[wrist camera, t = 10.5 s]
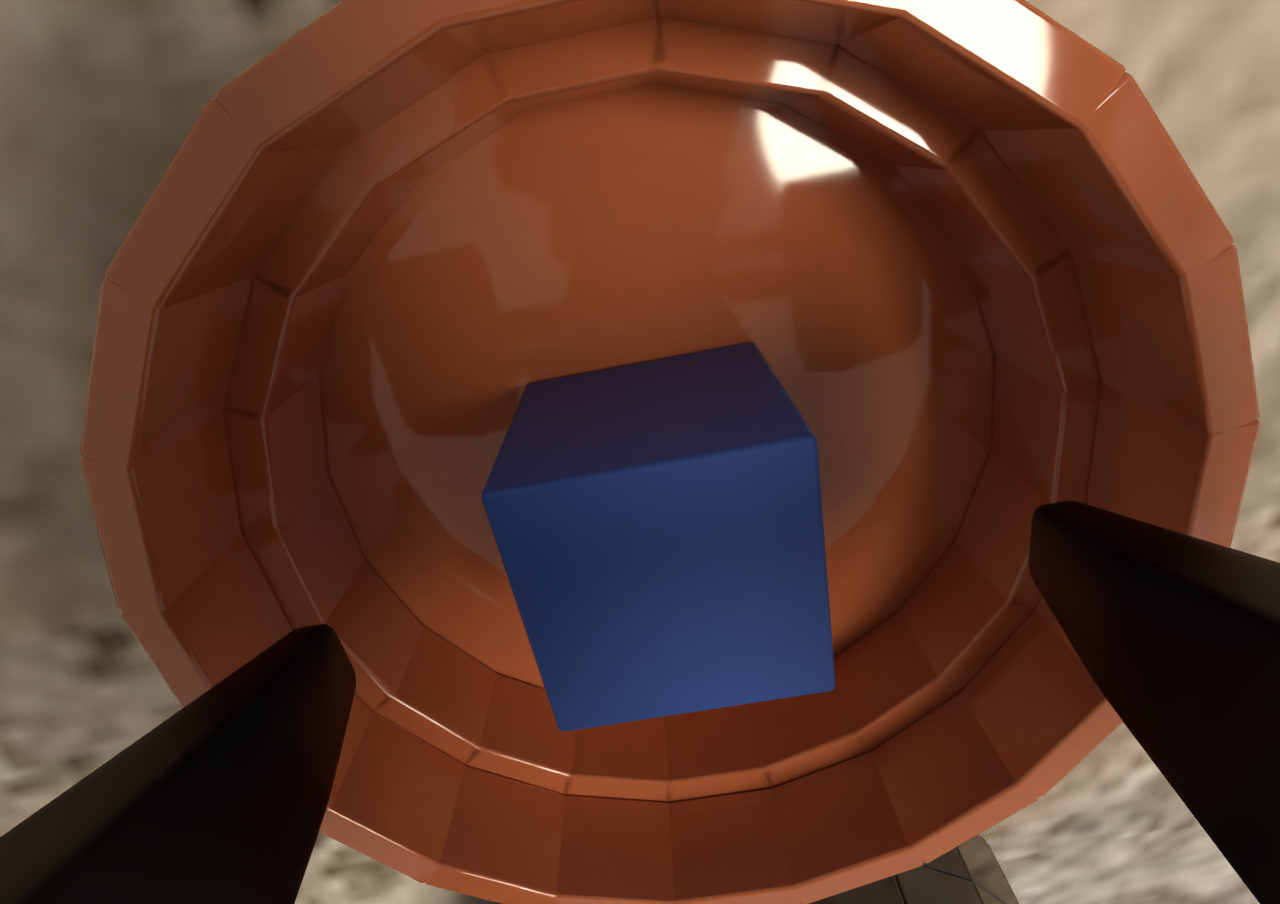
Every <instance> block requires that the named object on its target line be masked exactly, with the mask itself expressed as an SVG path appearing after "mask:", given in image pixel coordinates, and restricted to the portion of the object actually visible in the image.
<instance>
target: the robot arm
mask: <svg viewBox="0 0 1280 904" xmlns="http://www.w3.org/2000/svg"><path fill="white" fill-rule="evenodd" d="M1028 564H1029V570H1030V574H1031V576H1032V579H1033V581H1034V583H1035V584H1036V586H1037V588H1038V589H1039V591H1040V593H1041V594H1042V596H1043V598H1044V599H1045V601H1046V603H1047V604H1048V606H1049V608H1050V609H1051V611H1052V613H1053V614H1054V616H1055V618H1056V619H1057V621H1058V623H1059V624H1060V626H1061V628H1062V629H1063V631H1064V633H1065V634H1066V636H1067V638H1068V639H1069V641H1070V643H1071V644H1072V646H1073V648H1074V649H1075V651H1076V653H1077V654H1078V656H1079V658H1080V659H1081V661H1082V663H1083V664H1084V666H1085V668H1086V669H1087V671H1088V673H1089V674H1090V676H1091V677H1092V679H1093V680H1094V682H1095V683H1096V685H1097V687H1098V688H1099V689H1100V691H1101V692H1102V694H1103V695H1104V696H1105V698H1106V699H1107V701H1108V702H1109V703H1110V705H1111V706H1112V708H1113V709H1114V710H1115V712H1116V713H1117V714H1118V716H1119V717H1120V718H1121V720H1122V721H1123V722H1124V723H1125V725H1126V726H1127V727H1128V729H1129V730H1130V731H1131V733H1132V734H1133V735H1134V737H1135V738H1136V739H1137V741H1138V742H1139V743H1140V745H1141V746H1142V747H1143V749H1144V750H1145V751H1146V753H1147V754H1148V755H1149V757H1150V758H1151V759H1152V761H1153V762H1154V763H1155V765H1156V766H1157V767H1158V769H1159V770H1160V771H1161V773H1162V774H1163V775H1164V777H1165V778H1166V779H1167V781H1168V782H1169V783H1170V785H1171V786H1172V787H1173V789H1174V790H1175V791H1176V793H1177V794H1178V795H1179V797H1180V798H1181V799H1182V801H1183V802H1184V803H1185V805H1186V806H1187V807H1188V809H1189V810H1190V811H1191V813H1192V814H1193V815H1194V817H1195V818H1196V819H1197V821H1198V822H1199V823H1200V825H1201V826H1202V827H1203V829H1204V830H1205V831H1206V833H1207V834H1208V835H1209V837H1210V838H1211V839H1212V841H1213V842H1214V843H1215V845H1216V846H1217V847H1218V849H1219V850H1220V851H1221V853H1222V854H1223V855H1224V857H1225V858H1226V859H1227V860H1228V862H1229V863H1230V864H1231V866H1232V867H1233V868H1234V870H1235V871H1236V872H1237V874H1238V875H1239V876H1240V878H1241V879H1242V880H1243V882H1244V883H1245V884H1246V886H1247V887H1248V888H1249V890H1250V891H1251V892H1252V894H1253V895H1254V896H1255V898H1256V899H1257V900H1258V902H1259V903H1260V904H1280V563H1278V562H1274V561H1271V560H1268V559H1265V558H1261V557H1258V556H1255V555H1251V554H1248V553H1245V552H1242V551H1238V550H1235V549H1232V548H1228V547H1225V546H1222V545H1219V544H1215V543H1212V542H1209V541H1205V540H1202V539H1199V538H1196V537H1192V536H1189V535H1186V534H1182V533H1179V532H1176V531H1173V530H1169V529H1166V528H1163V527H1159V526H1156V525H1153V524H1150V523H1146V522H1143V521H1140V520H1136V519H1133V518H1130V517H1126V516H1123V515H1120V514H1117V513H1113V512H1110V511H1107V510H1103V509H1100V508H1097V507H1094V506H1090V505H1087V504H1084V503H1080V502H1077V501H1063V502H1057V503H1051V504H1045V505H1040V506H1039V507H1037V508H1036V509H1035V511H1034V513H1033V516H1032V523H1031V534H1030V546H1029V558H1028ZM355 689H356V675H355V671H354V668H353V666H352V664H351V662H350V660H349V658H348V655H347V653H346V651H345V649H344V647H343V645H342V643H341V641H340V639H339V637H338V635H337V633H336V632H335V630H334V629H333V628H332V627H331V626H330V625H327V624H319V625H313V626H307V627H301V628H297V629H295V630H293V631H291V632H290V633H288V634H287V635H286V636H284V637H283V638H281V639H280V640H279V641H277V642H276V643H274V644H273V645H272V646H270V647H269V648H267V649H266V650H264V651H263V652H262V653H260V654H259V655H257V656H256V657H255V658H253V659H252V660H250V661H249V662H248V663H246V664H245V665H243V666H242V667H240V668H239V669H238V670H236V671H235V672H233V673H232V674H231V675H229V676H228V677H226V678H225V679H223V680H222V681H221V682H219V683H218V684H216V685H215V686H214V687H212V688H211V689H209V690H208V691H207V692H205V693H204V694H202V695H201V696H199V697H198V698H197V699H195V700H194V701H192V702H191V703H190V704H188V705H187V706H185V707H184V708H183V709H181V710H180V711H178V712H177V713H175V714H174V715H173V716H171V717H170V718H168V719H167V720H166V721H164V722H163V723H161V724H160V725H159V726H157V727H156V728H154V729H153V730H151V731H150V732H149V733H147V734H146V735H144V736H143V737H142V738H140V739H139V740H137V741H136V742H134V743H133V744H132V745H130V746H129V747H127V748H126V749H125V750H123V751H122V752H120V753H119V754H118V755H116V756H115V757H113V758H112V759H110V760H109V761H108V762H106V763H105V764H103V765H102V766H101V767H99V768H98V769H96V770H95V771H94V772H92V773H91V774H89V775H88V776H86V777H85V778H84V779H82V780H81V781H79V782H78V783H77V784H75V785H74V786H72V787H71V788H69V789H68V790H67V791H65V792H64V793H62V794H61V795H60V796H58V797H57V798H55V799H54V800H53V801H51V802H50V803H48V804H47V805H45V806H44V807H43V808H41V809H40V810H38V811H37V812H36V813H34V814H33V815H31V816H30V817H29V818H27V819H26V820H24V821H23V822H21V823H20V824H19V825H17V826H16V827H14V828H13V829H12V830H10V831H9V832H7V833H6V834H4V835H3V836H2V837H0V904H294V903H295V900H296V897H297V894H298V891H299V888H300V885H301V883H302V880H303V877H304V874H305V871H306V868H307V865H308V862H309V859H310V856H311V853H312V850H313V847H314V845H315V842H316V839H317V836H318V833H319V830H320V827H321V824H322V821H323V818H324V815H325V812H326V808H327V805H328V802H329V798H330V795H331V791H332V787H333V783H334V779H335V775H336V771H337V767H338V762H339V758H340V754H341V750H342V745H343V741H344V737H345V733H346V728H347V724H348V720H349V715H350V711H351V707H352V703H353V698H354V694H355Z"/></svg>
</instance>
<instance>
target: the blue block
mask: <svg viewBox="0 0 1280 904" xmlns="http://www.w3.org/2000/svg"><path fill="white" fill-rule="evenodd" d="M481 499H482V502H483V505H484V508H485V511H486V514H487V517H488V520H489V523H490V526H491V529H492V532H493V535H494V538H495V541H496V544H497V547H498V550H499V553H500V556H501V559H502V562H503V565H504V568H505V571H506V574H507V577H508V580H509V583H510V586H511V589H512V592H513V595H514V598H515V601H516V604H517V607H518V610H519V613H520V616H521V619H522V622H523V625H524V628H525V631H526V634H527V637H528V640H529V643H530V646H531V649H532V652H533V655H534V658H535V661H536V664H537V667H538V670H539V673H540V676H541V679H542V681H543V684H544V687H545V690H546V693H547V696H548V699H549V702H550V705H551V708H552V711H553V714H554V717H555V720H556V723H557V726H558V729H559V730H560V731H563V732H565V731H572V730H579V729H585V728H592V727H598V726H605V725H611V724H618V723H625V722H631V721H638V720H644V719H651V718H658V717H664V716H671V715H677V714H684V713H691V712H697V711H704V710H710V709H717V708H724V707H730V706H737V705H743V704H750V703H756V702H763V701H770V700H776V699H783V698H789V697H796V696H803V695H809V694H816V693H822V692H829V691H832V690H834V688H835V684H836V682H835V669H834V656H833V643H832V630H831V617H830V604H829V591H828V578H827V565H826V552H825V539H824V526H823V513H822V500H821V486H820V473H819V460H818V447H817V439H816V437H815V436H814V434H813V432H812V431H811V429H810V428H809V426H808V425H807V423H806V422H805V420H804V418H803V417H802V415H801V414H800V412H799V411H798V409H797V408H796V406H795V404H794V403H793V401H792V400H791V398H790V397H789V395H788V394H787V392H786V391H785V389H784V387H783V386H782V384H781V383H780V381H779V380H778V378H777V377H776V375H775V373H774V372H773V370H772V369H771V367H770V366H769V364H768V363H767V361H766V359H765V358H764V356H763V355H762V353H761V352H760V350H759V349H758V347H757V346H756V344H755V343H752V342H749V343H744V344H738V345H733V346H728V347H722V348H717V349H712V350H706V351H701V352H695V353H690V354H685V355H679V356H674V357H668V358H663V359H658V360H652V361H647V362H641V363H636V364H631V365H625V366H620V367H615V368H609V369H604V370H598V371H593V372H588V373H582V374H577V375H571V376H566V377H561V378H555V379H550V380H544V381H539V382H534V383H529V384H528V385H526V387H525V390H524V392H523V394H522V397H521V399H520V402H519V404H518V407H517V409H516V412H515V414H514V416H513V419H512V421H511V424H510V426H509V429H508V431H507V434H506V436H505V438H504V441H503V443H502V446H501V448H500V451H499V453H498V456H497V458H496V460H495V463H494V465H493V468H492V470H491V473H490V475H489V478H488V480H487V482H486V485H485V487H484V490H483V492H482V498H481Z"/></svg>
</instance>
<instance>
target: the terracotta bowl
mask: <svg viewBox="0 0 1280 904" xmlns="http://www.w3.org/2000/svg"><path fill="white" fill-rule="evenodd" d="M1125 70H1126V69H1125V68H1124V66H1123V65H1121V64H1120V63H1118V62H1117V61H1115V60H1114V59H1112V58H1111V57H1109V56H1108V55H1106V54H1105V53H1103V52H1102V51H1100V50H1099V49H1097V48H1096V47H1094V46H1093V45H1091V44H1090V43H1088V42H1087V41H1085V40H1084V39H1082V38H1081V37H1079V36H1078V35H1076V34H1075V33H1073V32H1072V31H1070V30H1069V29H1067V28H1066V27H1064V26H1063V25H1061V24H1060V23H1058V22H1057V21H1055V20H1054V19H1052V18H1051V17H1049V16H1048V15H1046V14H1045V13H1043V12H1042V11H1040V10H1039V9H1037V8H1036V7H1034V6H1033V5H1031V4H1030V3H1028V2H1027V1H1025V0H343V1H341V2H340V3H339V4H337V5H336V6H334V7H333V8H332V9H330V10H329V11H327V12H326V13H325V14H323V15H322V16H320V17H319V18H318V19H316V20H315V21H313V22H312V23H311V24H309V25H308V26H306V27H305V28H304V29H302V30H301V31H299V32H298V33H297V34H295V35H294V36H292V37H291V38H290V39H288V40H287V41H285V42H284V43H283V44H281V45H280V46H278V47H277V48H276V49H274V50H273V51H271V52H270V53H269V54H267V55H266V56H264V57H263V58H262V59H260V60H259V61H257V62H256V63H255V64H253V65H252V66H250V67H249V68H248V69H246V70H245V71H244V72H242V73H241V74H239V75H238V76H237V77H235V78H234V79H232V80H231V81H230V82H228V83H227V84H225V85H224V86H223V87H221V88H220V89H219V90H218V91H217V93H216V94H215V95H216V97H213V98H211V99H210V100H208V102H207V104H206V105H205V107H204V109H203V110H202V112H201V114H200V115H199V117H198V119H197V120H196V122H195V124H194V125H193V127H192V129H191V130H190V132H189V134H188V135H187V137H186V139H185V140H184V142H183V144H182V145H181V147H180V149H179V150H178V152H177V154H176V155H175V157H174V159H173V160H172V162H171V164H170V165H169V167H168V169H167V170H166V172H165V174H164V175H163V177H162V179H161V180H160V182H159V184H158V185H157V187H156V189H155V190H154V192H153V194H152V195H151V197H150V199H149V200H148V202H147V204H146V205H145V207H144V209H143V210H142V212H141V214H140V215H139V217H138V219H137V220H136V222H135V224H134V225H133V227H132V229H131V230H130V232H129V234H128V235H127V237H126V239H125V240H124V242H123V244H122V245H121V247H120V249H119V250H118V252H117V254H116V255H115V257H114V259H113V260H112V262H111V264H110V265H109V267H108V269H107V270H106V273H105V276H106V277H107V278H105V279H104V281H103V282H102V286H101V293H100V301H99V309H98V316H97V324H96V332H95V339H94V347H93V354H92V362H91V370H90V377H89V385H88V393H87V400H86V408H85V416H84V423H83V431H82V439H81V446H80V454H81V456H83V457H82V459H81V466H82V470H83V474H84V478H85V482H86V486H87V490H88V494H89V497H90V501H91V505H92V509H93V513H94V517H95V521H96V525H97V528H98V532H99V536H100V540H101V544H102V548H103V552H104V556H105V559H106V563H107V567H108V571H109V575H110V579H111V583H112V587H113V590H114V594H115V598H116V602H117V606H118V609H119V610H120V611H122V618H123V619H124V621H125V622H126V624H127V625H128V627H129V628H130V630H131V631H132V633H133V634H134V636H135V637H136V639H137V640H138V642H139V643H140V645H141V646H142V648H143V649H144V651H145V652H146V654H147V655H148V657H149V658H150V660H151V661H152V663H153V664H154V666H155V667H156V669H157V670H158V672H159V673H160V675H161V676H162V678H163V679H164V681H165V682H166V684H167V685H168V687H169V688H170V690H171V691H172V693H173V694H174V696H175V697H176V699H177V700H178V702H179V704H180V705H181V707H182V708H184V707H185V706H187V705H188V704H190V703H191V702H192V701H194V700H195V699H197V698H198V697H199V696H201V695H202V694H204V693H205V692H207V691H208V690H209V689H211V688H212V687H214V686H215V685H216V684H218V683H219V682H221V681H222V680H223V679H225V678H226V677H228V676H229V675H231V674H232V673H233V672H235V671H236V670H238V669H239V668H240V667H242V666H243V665H245V664H246V663H248V662H249V661H250V660H252V659H253V658H255V657H256V656H257V655H259V654H260V653H262V652H263V651H264V650H266V649H267V648H269V647H270V646H272V645H273V644H274V643H276V642H277V641H279V640H280V639H281V638H283V637H284V636H286V635H287V634H288V633H290V632H291V631H293V630H295V629H297V628H301V627H307V626H313V625H319V624H327V625H330V626H331V627H332V628H333V629H334V630H335V632H336V633H337V635H338V637H339V639H340V641H341V643H342V645H343V647H344V649H345V651H346V653H347V655H348V658H349V660H350V662H351V664H352V666H353V668H354V671H355V675H356V689H355V694H354V698H353V703H352V707H351V711H350V715H349V720H348V724H347V728H346V733H345V737H344V741H343V745H342V750H341V754H340V758H339V762H338V767H337V771H336V775H335V779H334V783H333V787H332V791H331V795H330V798H329V802H328V805H327V808H326V812H325V815H324V818H323V821H322V824H321V827H320V830H319V832H321V833H323V834H325V835H327V836H329V837H331V838H333V839H335V840H337V841H339V842H341V843H343V844H345V845H347V846H349V847H351V848H353V849H355V850H357V851H359V852H361V853H363V854H365V855H367V856H369V857H371V858H373V859H375V860H377V861H379V862H381V863H383V864H385V865H387V866H389V867H391V868H393V869H395V870H397V871H399V872H401V873H403V874H405V875H407V876H409V877H411V878H413V879H415V880H417V881H419V882H421V883H424V882H425V883H426V884H427V885H431V886H435V887H439V888H443V889H446V890H450V891H454V892H458V893H462V894H466V895H470V896H474V897H477V898H481V899H485V900H489V901H493V902H497V903H501V904H810V903H813V902H816V901H819V900H822V899H825V898H828V897H831V896H834V895H837V894H840V893H843V892H846V891H849V890H852V889H855V888H858V887H861V886H864V885H867V884H870V883H873V882H876V881H879V880H882V879H885V878H888V877H891V876H894V875H897V874H900V873H903V872H906V871H909V870H912V869H915V868H918V867H921V866H922V865H923V863H930V862H932V861H933V860H935V859H937V858H939V857H940V856H942V855H944V854H945V853H947V852H949V851H951V850H952V849H954V848H956V847H958V846H959V845H961V844H963V843H965V842H966V841H968V840H970V839H971V838H973V837H975V836H977V835H978V834H980V833H982V832H984V831H985V830H987V829H989V828H990V827H992V826H994V825H996V824H997V823H999V822H1001V821H1003V820H1004V819H1006V818H1008V817H1010V816H1011V815H1013V814H1015V813H1016V812H1018V811H1020V810H1022V809H1023V808H1025V807H1027V806H1029V805H1030V804H1032V803H1034V802H1035V801H1037V800H1038V799H1039V796H1040V797H1041V796H1044V795H1046V794H1047V793H1048V792H1049V791H1050V790H1051V789H1052V788H1053V787H1054V786H1055V785H1056V784H1057V783H1058V782H1059V781H1061V780H1062V779H1063V778H1064V777H1065V776H1066V775H1067V774H1068V773H1069V772H1070V771H1071V770H1072V769H1073V768H1074V767H1076V766H1077V765H1078V764H1079V763H1080V762H1081V761H1082V760H1083V759H1084V758H1085V757H1086V756H1087V755H1088V754H1090V753H1091V752H1092V751H1093V750H1094V749H1095V748H1096V747H1097V746H1098V745H1099V744H1100V743H1101V742H1102V741H1103V740H1105V739H1106V738H1107V737H1108V736H1109V735H1110V734H1111V733H1112V732H1113V731H1114V730H1115V729H1116V728H1117V727H1118V726H1120V725H1121V724H1122V723H1123V721H1122V720H1121V718H1120V717H1119V716H1118V714H1117V713H1116V712H1115V710H1114V709H1113V708H1112V706H1111V705H1110V703H1109V702H1108V701H1107V699H1106V698H1105V696H1104V695H1103V694H1102V692H1101V691H1100V689H1099V688H1098V687H1097V685H1096V683H1095V682H1094V680H1093V679H1092V677H1091V676H1090V674H1089V673H1088V671H1087V669H1086V668H1085V666H1084V664H1083V663H1082V661H1081V659H1080V658H1079V656H1078V654H1077V653H1076V651H1075V649H1074V648H1073V646H1072V644H1071V643H1070V641H1069V639H1068V638H1067V636H1066V634H1065V633H1064V631H1063V629H1062V628H1061V626H1060V624H1059V623H1058V621H1057V619H1056V618H1055V616H1054V614H1053V613H1052V611H1051V609H1050V608H1049V606H1048V604H1047V603H1046V601H1045V599H1044V598H1043V596H1042V594H1041V593H1040V591H1039V589H1038V588H1037V586H1036V584H1035V583H1034V581H1033V579H1032V576H1031V574H1030V570H1029V564H1028V558H1029V546H1030V534H1031V523H1032V516H1033V513H1034V511H1035V509H1036V508H1037V507H1039V506H1040V505H1045V504H1051V503H1057V502H1063V501H1077V502H1080V503H1084V504H1087V505H1090V506H1094V507H1097V508H1100V509H1103V510H1107V511H1110V512H1113V513H1117V514H1120V515H1123V516H1126V517H1130V518H1133V519H1136V520H1140V521H1143V522H1146V523H1150V524H1153V525H1156V526H1159V527H1163V528H1166V529H1169V530H1173V531H1176V532H1179V533H1182V534H1186V535H1189V536H1192V537H1196V538H1199V539H1202V540H1205V541H1209V542H1212V543H1215V544H1219V545H1222V546H1225V547H1228V548H1230V546H1231V542H1232V538H1233V534H1234V530H1235V526H1236V522H1237V518H1238V513H1239V509H1240V505H1241V501H1242V497H1243V493H1244V489H1245V485H1246V481H1247V477H1248V472H1249V468H1250V464H1251V460H1252V456H1253V452H1254V448H1255V444H1256V440H1257V436H1258V431H1259V427H1260V422H1259V421H1258V420H1257V419H1258V418H1259V416H1260V413H1259V406H1258V399H1257V391H1256V384H1255V377H1254V370H1253V362H1252V355H1251V348H1250V340H1249V333H1248V326H1247V319H1246V311H1245V304H1244V297H1243V289H1242V282H1241V275H1240V268H1239V260H1238V253H1237V249H1236V248H1235V246H1233V245H1232V243H1233V238H1232V236H1231V234H1230V233H1229V231H1228V230H1227V228H1226V226H1225V225H1224V223H1223V222H1222V220H1221V218H1220V217H1219V215H1218V214H1217V212H1216V210H1215V209H1214V207H1213V205H1212V204H1211V202H1210V201H1209V199H1208V197H1207V196H1206V194H1205V193H1204V191H1203V189H1202V188H1201V186H1200V185H1199V183H1198V181H1197V180H1196V178H1195V177H1194V175H1193V173H1192V172H1191V170H1190V168H1189V167H1188V165H1187V164H1186V162H1185V160H1184V159H1183V157H1182V156H1181V154H1180V152H1179V151H1178V149H1177V148H1176V146H1175V144H1174V143H1173V141H1172V140H1171V138H1170V136H1169V135H1168V133H1167V131H1166V130H1165V128H1164V127H1163V125H1162V123H1161V122H1160V120H1159V119H1158V117H1157V115H1156V114H1155V112H1154V111H1153V109H1152V107H1151V106H1150V104H1149V102H1148V101H1147V99H1146V98H1145V96H1144V94H1143V93H1142V91H1141V90H1140V88H1139V86H1138V85H1137V83H1136V82H1135V80H1134V78H1133V77H1132V76H1131V75H1130V74H1128V73H1126V72H1125ZM749 342H752V343H755V344H756V346H757V347H758V349H759V350H760V352H761V353H762V355H763V356H764V358H765V359H766V361H767V363H768V364H769V366H770V367H771V369H772V370H773V372H774V373H775V375H776V377H777V378H778V380H779V381H780V383H781V384H782V386H783V387H784V389H785V391H786V392H787V394H788V395H789V397H790V398H791V400H792V401H793V403H794V404H795V406H796V408H797V409H798V411H799V412H800V414H801V415H802V417H803V418H804V420H805V422H806V423H807V425H808V426H809V428H810V429H811V431H812V432H813V434H814V436H815V437H816V439H817V447H818V460H819V473H820V486H821V500H822V513H823V526H824V539H825V552H826V565H827V578H828V591H829V604H830V617H831V630H832V643H833V656H834V669H835V682H836V684H835V688H834V690H832V691H829V692H822V693H816V694H809V695H803V696H796V697H789V698H783V699H776V700H770V701H763V702H756V703H750V704H743V705H737V706H730V707H724V708H717V709H710V710H704V711H697V712H691V713H684V714H677V715H671V716H664V717H658V718H651V719H644V720H638V721H631V722H625V723H618V724H611V725H605V726H598V727H592V728H585V729H579V730H572V731H565V732H563V731H560V730H559V729H558V726H557V723H556V720H555V717H554V714H553V711H552V708H551V705H550V702H549V699H548V696H547V693H546V690H545V687H544V684H543V681H542V679H541V676H540V673H539V670H538V667H537V664H536V661H535V658H534V655H533V652H532V649H531V646H530V643H529V640H528V637H527V634H526V631H525V628H524V625H523V622H522V619H521V616H520V613H519V610H518V607H517V604H516V601H515V598H514V595H513V592H512V589H511V586H510V583H509V580H508V577H507V574H506V571H505V568H504V565H503V562H502V559H501V556H500V553H499V550H498V547H497V544H496V541H495V538H494V535H493V532H492V529H491V526H490V523H489V520H488V517H487V514H486V511H485V508H484V505H483V502H482V499H481V498H482V492H483V490H484V487H485V485H486V482H487V480H488V478H489V475H490V473H491V470H492V468H493V465H494V463H495V460H496V458H497V456H498V453H499V451H500V448H501V446H502V443H503V441H504V438H505V436H506V434H507V431H508V429H509V426H510V424H511V421H512V419H513V416H514V414H515V412H516V409H517V407H518V404H519V402H520V399H521V397H522V394H523V392H524V390H525V387H526V385H528V384H529V383H534V382H539V381H544V380H550V379H555V378H561V377H566V376H571V375H577V374H582V373H588V372H593V371H598V370H604V369H609V368H615V367H620V366H625V365H631V364H636V363H641V362H647V361H652V360H658V359H663V358H668V357H674V356H679V355H685V354H690V353H695V352H701V351H706V350H712V349H717V348H722V347H728V346H733V345H738V344H744V343H749Z"/></svg>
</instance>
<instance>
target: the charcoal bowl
mask: <svg viewBox="0 0 1280 904" xmlns="http://www.w3.org/2000/svg"><path fill="white" fill-rule="evenodd" d="M810 904H1019V902H1018V900H1017V898H1016V896H1015V894H1014V893H1013V891H1012V889H1011V887H1010V885H1009V883H1008V881H1007V879H1006V877H1005V875H1004V873H1003V871H1002V869H1001V867H1000V865H999V864H998V862H997V860H996V858H995V856H994V854H993V852H992V850H991V848H990V846H989V844H987V842H986V840H984V839H983V838H982V837H981V836H979V835H977V836H975V837H973V838H971V839H970V840H968V841H966V842H965V843H963V844H961V845H959V846H958V847H956V848H954V849H952V850H951V851H949V852H947V853H945V854H944V855H942V856H940V857H939V858H937V859H935V860H933V861H932V862H930V863H923V865H922V866H921V867H918V868H915V869H912V870H909V871H906V872H903V873H900V874H897V875H894V876H891V877H888V878H885V879H882V880H879V881H876V882H873V883H870V884H867V885H864V886H861V887H858V888H855V889H852V890H849V891H846V892H843V893H840V894H837V895H834V896H831V897H828V898H825V899H822V900H819V901H816V902H813V903H810Z"/></svg>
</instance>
